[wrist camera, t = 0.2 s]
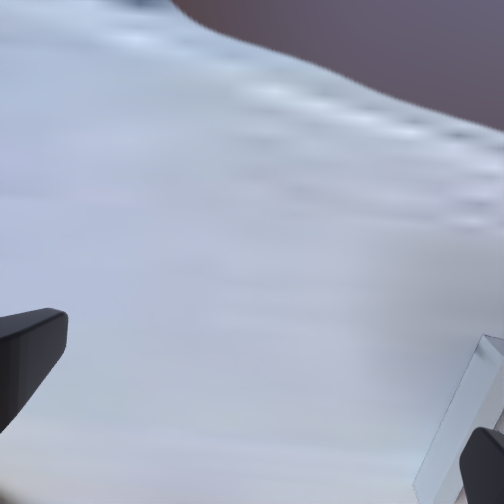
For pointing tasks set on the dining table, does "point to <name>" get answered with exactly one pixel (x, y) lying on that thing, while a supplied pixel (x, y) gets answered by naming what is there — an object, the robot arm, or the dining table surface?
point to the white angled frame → (463, 423)
